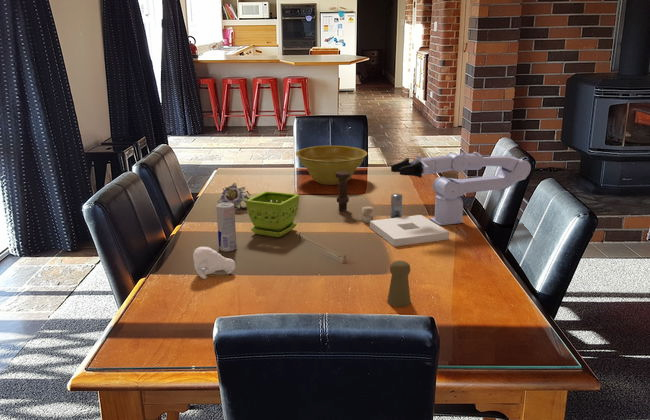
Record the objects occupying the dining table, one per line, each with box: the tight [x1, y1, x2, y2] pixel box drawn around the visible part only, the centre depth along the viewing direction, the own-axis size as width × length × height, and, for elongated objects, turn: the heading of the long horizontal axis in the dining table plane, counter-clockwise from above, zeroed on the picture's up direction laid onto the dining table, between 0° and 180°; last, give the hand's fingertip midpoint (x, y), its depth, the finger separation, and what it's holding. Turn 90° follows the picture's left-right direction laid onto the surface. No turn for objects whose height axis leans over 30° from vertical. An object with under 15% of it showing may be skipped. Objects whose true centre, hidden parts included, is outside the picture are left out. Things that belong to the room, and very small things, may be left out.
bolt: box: [336, 171, 350, 212], centre depth 229 cm, size 6×5×15 cm
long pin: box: [390, 193, 403, 218], centre depth 220 cm, size 4×4×9 cm
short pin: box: [361, 205, 374, 224], centre depth 218 cm, size 4×4×5 cm
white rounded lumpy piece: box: [192, 246, 236, 280], centre depth 172 cm, size 6×8×12 cm
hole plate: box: [369, 214, 450, 247], centre depth 205 cm, size 20×20×2 cm
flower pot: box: [245, 191, 300, 238], centre depth 206 cm, size 14×14×13 cm
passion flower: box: [216, 182, 251, 209], centre depth 234 cm, size 11×11×12 cm
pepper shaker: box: [386, 260, 412, 308], centre depth 153 cm, size 6×6×11 cm
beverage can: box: [216, 202, 237, 253], centre depth 190 cm, size 6×6×15 cm
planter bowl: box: [295, 145, 368, 186], centre depth 272 cm, size 32×32×13 cm
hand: (395, 170), depth 206 cm, fingers open, 7 cm apart
